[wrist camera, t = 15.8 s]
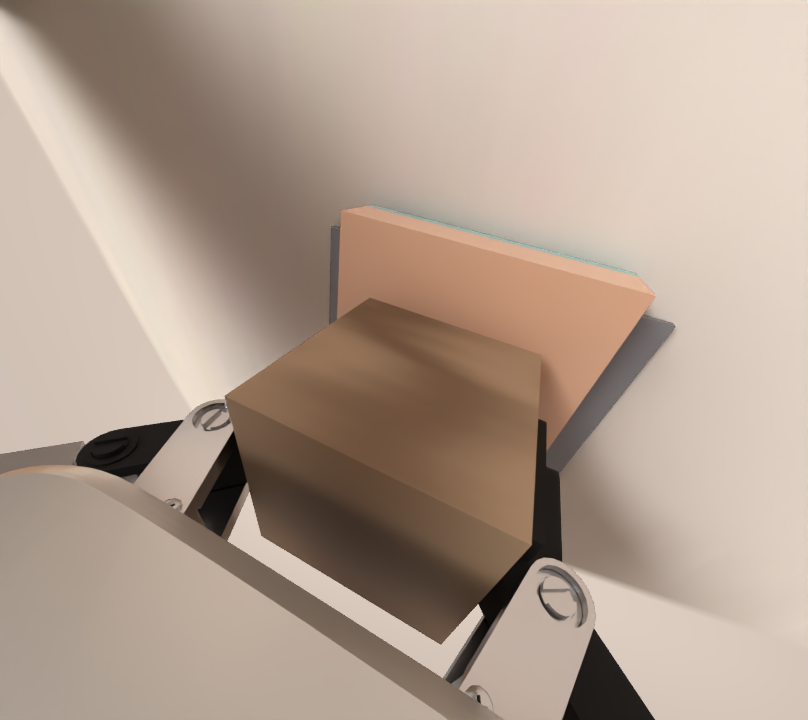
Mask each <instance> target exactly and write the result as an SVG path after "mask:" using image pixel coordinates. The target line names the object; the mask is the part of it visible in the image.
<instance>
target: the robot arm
mask: <svg viewBox="0 0 808 720" xmlns="http://www.w3.org/2000/svg"><path fill="white" fill-rule="evenodd" d="M546 446H547V423H546V422H545V421H543V420H540V419H538V432H537V451H536V470H535V490H534V509H533V528H532V545H531V546H530V548H529V549H528V550H527V551H526V552H525V553H524V554H523V555H522V556H521V557H520V558H519V560H518V561H517V562H516V563H515V564H514V565H513V566H512V567H511V568H510V569H509V571H508V572H507V573H506V574H505V575H504V576H503V577H502V578H501V579H500V580H499V581H498V583H497V584H496V585H495V586H494V587H493V588H492V589H491V590H490V591H489V592H488V594H487V595H486V596H485V597H484V598H483V599H482V600H481V601H480V602H479V603H478V604H479V606H480V608H481V610H482V613H483V616H482V618H481V619H480V621H479V622H478V624H477V625H476V627H475V629H474V630H473V632H472V633H471V635H470V636H469V638H468V640H467V641H466V643H465V644H464V646H463V648H462V649H461V651H460V652H459V654H458V655H457V657H456V659H455V660H454V662H453V663H452V665H451V666H450V668H449V670H448V671H447V673H446V674H445V676H444V677H443V678H441V677H440V676H438V675H437V674H435V673H434V672H432V671H431V670H429V669H428V668H426V667H424V666H423V665H421V664H420V663H418V662H417V661H415V660H413V659H412V658H410V657H409V656H407V655H406V654H404V653H402V652H401V651H399V650H398V649H396V648H394V647H393V646H392V645H390V644H388V643H387V642H385V641H383V640H382V639H380V638H379V637H378V636H376V635H374V634H373V633H371V632H369V631H368V630H367V629H365V628H363V627H362V626H360V625H359V624H357V623H356V622H354V621H352V620H351V619H349V618H348V617H346V616H345V615H343V614H342V613H340V612H338V611H337V610H335V609H334V608H332V607H331V606H329V605H327V604H326V603H324V602H323V601H321V600H319V599H318V598H316V597H315V596H313V595H311V594H310V593H308V592H307V591H305V590H304V589H302V588H301V587H299V586H297V585H296V584H294V583H293V582H291V581H289V580H288V579H286V578H285V577H283V576H281V575H280V574H278V573H277V572H275V571H274V570H272V569H270V568H269V567H267V566H266V565H264V564H262V563H261V562H259V561H258V560H256V559H255V558H253V557H252V556H250V555H248V554H247V553H245V552H244V551H242V550H240V549H239V548H237V547H236V546H234V545H232V544H231V543H229V542H228V541H227V540H228V538H229V536H230V534H231V531H232V529H233V527H234V525H235V522H236V520H237V518H238V516H239V513H240V511H241V509H242V507H243V505H244V502H245V500H246V498H247V496H248V493H249V491H250V490H249V487H248V483H247V479H246V475H245V471H244V468H243V464H242V460H241V456H240V452H239V449H238V445H237V441H236V437H235V433H234V430H233V426H232V422H231V418H230V414H229V411H228V407H227V403H226V399H218V400H213V401H209V402H206V403H203V404H201V405H200V406H198V407H196V408H195V409H194V410H193V411H192V412H190V413H189V415H188V416H187V417H186V418H185V420H179V421H172V422H165V423H158V424H152V425H144V426H138V427H131V428H124V429H118V430H114V431H110V432H108V433H105V434H103V435H100V436H98V437H96V438H95V439H93V440H91V441H90V442H89V443H87V444H85V443H84V442H83V441H81V442H74V443H68V444H62V445H55V446H49V447H43V448H37V449H30V450H24V451H17V452H11V453H5V454H0V720H655V719H654V718H653V716H652V715H651V713H650V712H649V710H648V709H647V707H646V706H645V704H644V703H643V701H642V700H641V698H640V697H639V695H638V694H637V692H636V691H635V689H634V688H633V686H632V685H631V683H630V682H629V680H628V679H627V677H626V676H625V674H624V673H623V671H622V670H621V668H620V667H619V665H618V664H617V662H616V661H615V659H614V658H613V656H612V655H611V653H610V652H609V650H608V649H607V647H606V646H605V644H604V643H603V641H602V640H601V639H600V637H599V635H598V634H597V632H596V631H595V629H594V626H595V619H596V613H595V608H594V602H593V600H592V597H591V595H590V592H589V590H588V589H587V587H586V585H585V584H584V582H583V581H582V579H581V578H580V577H579V576H578V575H577V574H576V573H575V572H574V571H573V570H572V569H571V568H570V567H568V566H567V565H566V564H564V563H563V562H562V540H561V508H560V478H559V473H558V471H556V470H554V469H551V468H549V467H547V466H546Z"/></svg>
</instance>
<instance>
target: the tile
mask: <svg viewBox="0 0 808 720" xmlns="http://www.w3.org/2000/svg"><path fill="white" fill-rule="evenodd" d="M655 297H656V295H655V294H654V293H653V292H652V291H651V290H650V288H649V287H648V286H647V285H646V284H645V283H644V282H643V280H642V279H641V278H640V277H639V276H638V275H637V274H636V273H633V272H630V271H626V270H622V269H618V268H614V267H610V266H607V265H603V264H599V263H595V262H591V261H587V260H583V259H580V258H576V257H572V256H568V255H564V254H560V253H556V252H553V251H549V250H545V249H541V248H537V247H533V246H529V245H526V244H522V243H518V242H514V241H510V240H506V239H503V238H499V237H495V236H491V235H487V234H483V233H479V232H476V231H472V230H468V229H464V228H460V227H456V226H452V225H449V224H445V223H441V222H437V221H433V220H429V219H426V218H422V217H418V216H414V215H410V214H406V213H402V212H399V211H395V210H391V209H387V208H383V207H379V206H375V205H369V206H363V207H357V208H351V209H345V210H341V223H340V251H339V278H338V306H337V319H339V318H340V317H342V316H343V315H345V314H346V313H348V312H349V311H351V310H352V309H353V308H355V307H356V306H358V305H359V304H361V303H362V302H364V301H365V300H367V299H368V298H373V299H376V300H379V301H382V302H385V303H388V304H391V305H393V306H396V307H399V308H402V309H405V310H408V311H411V312H414V313H417V314H420V315H423V316H426V317H429V318H432V319H435V320H438V321H441V322H444V323H447V324H450V325H453V326H456V327H459V328H462V329H465V330H468V331H471V332H474V333H477V334H480V335H483V336H486V337H489V338H492V339H495V340H498V341H501V342H504V343H507V344H510V345H513V346H516V347H519V348H522V349H525V350H528V351H531V352H534V353H537V354H540V355H541V374H540V393H539V412H538V419H540V420H543V421H545V422H546V423H547V446H546V452H547V450H548V449H549V447H550V446H551V444H552V443H553V442H554V440H555V439H556V437H557V436H558V434H559V433H560V432H561V430H562V429H563V427H564V426H565V425H566V423H567V422H568V420H569V419H570V417H571V416H572V415H573V413H574V412H575V410H576V409H577V408H578V406H579V405H580V403H581V402H582V400H583V399H584V398H585V396H586V395H587V393H588V392H589V390H590V389H591V388H592V386H593V385H594V383H595V382H596V381H597V379H598V378H599V376H600V375H601V373H602V372H603V371H604V369H605V368H606V366H607V365H608V364H609V362H610V361H611V359H612V358H613V356H614V355H615V354H616V352H617V351H618V349H619V348H620V346H621V345H622V344H623V342H624V341H625V339H626V338H627V337H628V335H629V334H630V332H631V331H632V329H633V328H634V327H635V325H636V324H637V322H638V321H639V320H640V318H641V317H642V315H643V314H644V312H645V311H646V310H647V308H648V307H649V305H650V304H651V302H652V301H653V300H654V298H655Z"/></svg>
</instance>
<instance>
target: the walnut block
mask: <svg viewBox="0 0 808 720" xmlns="http://www.w3.org/2000/svg"><path fill="white" fill-rule="evenodd" d="M540 374H541V355H540V354H537V353H534V352H531V351H528V350H525V349H522V348H519V347H516V346H513V345H510V344H507V343H504V342H501V341H498V340H495V339H492V338H489V337H486V336H483V335H480V334H477V333H474V332H471V331H468V330H465V329H462V328H459V327H456V326H453V325H450V324H447V323H444V322H441V321H438V320H435V319H432V318H429V317H426V316H423V315H420V314H417V313H414V312H411V311H408V310H405V309H402V308H399V307H396V306H393V305H391V304H388V303H385V302H382V301H379V300H376V299H373V298H368V299H367V300H365V301H364V302H362V303H361V304H359V305H358V306H356V307H355V308H353V309H352V310H351V311H349V312H348V313H346V314H345V315H343V316H342V317H340V318H339V319H337V320H336V321H334V322H333V323H331V324H330V325H328V326H327V327H326V328H324V329H323V330H321V331H320V332H318V333H317V334H315V335H314V336H312V337H311V338H309V339H308V340H306V341H305V342H303V343H302V344H300V345H299V346H298V347H296V348H295V349H293V350H292V351H290V352H289V353H287V354H286V355H284V356H283V357H281V358H280V359H278V360H277V361H275V362H274V363H272V364H271V365H270V366H268V367H267V368H265V369H264V370H262V371H261V372H259V373H258V374H256V375H255V376H253V377H252V378H250V379H249V380H247V381H246V382H245V383H243V384H242V385H240V386H239V387H237V388H236V389H234V390H233V391H231V392H230V393H228V394H227V395H225V399H226V403H227V407H228V411H229V414H230V418H231V422H232V426H233V430H234V433H235V437H236V441H237V445H238V449H239V452H240V456H241V460H242V464H243V468H244V471H245V475H246V479H247V483H248V487H249V490H250V494H251V498H252V502H253V506H254V509H255V513H256V517H257V521H258V525H259V528H260V532H261V536H263V537H264V538H266V539H267V540H269V541H271V542H273V543H274V544H276V545H277V546H279V547H281V548H282V549H284V550H286V551H287V552H289V553H291V554H292V555H294V556H296V557H297V558H299V559H301V560H302V561H304V562H305V563H307V564H309V565H310V566H312V567H314V568H315V569H317V570H319V571H321V572H322V573H324V574H325V575H327V576H329V577H330V578H332V579H334V580H335V581H337V582H339V583H340V584H342V585H343V586H345V587H347V588H348V589H350V590H352V591H353V592H355V593H357V594H358V595H360V596H362V597H363V598H365V599H366V600H368V601H370V602H371V603H373V604H375V605H376V606H378V607H380V608H382V609H383V610H385V611H386V612H388V613H390V614H391V615H393V616H395V617H396V618H398V619H400V620H401V621H403V622H404V623H406V624H408V625H409V626H411V627H413V628H414V629H416V630H418V631H419V632H421V633H422V634H424V635H426V636H427V637H429V638H431V639H432V640H434V641H436V642H437V643H439V644H442V643H443V642H444V641H445V639H446V638H447V637H448V636H449V635H450V634H451V632H453V631H454V630H455V629H456V627H457V626H458V625H459V624H460V623H461V622H462V621H463V620H464V619H465V618H466V616H467V615H468V614H469V613H470V612H471V611H472V610H473V609H474V608H475V607H476V606H477V604H478V603H479V602H480V601H481V600H482V599H483V598H484V597H485V596H486V595H487V594H488V592H489V591H490V590H491V589H492V588H493V587H494V586H495V585H496V584H497V583H498V581H499V580H500V579H501V578H502V577H503V576H504V575H505V574H506V573H507V572H508V571H509V569H510V568H511V567H512V566H513V565H514V564H515V563H516V562H517V561H518V560H519V558H520V557H521V556H522V555H523V554H524V553H525V552H526V551H527V550H528V549H529V548H530V546H531V545H532V528H533V509H534V490H535V470H536V451H537V432H538V412H539V393H540Z"/></svg>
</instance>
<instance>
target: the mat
mask: <svg viewBox="0 0 808 720" xmlns="http://www.w3.org/2000/svg"><path fill="white" fill-rule="evenodd" d="M339 251H340V227H336V226H333V227H331V263H330V315H329V325H330V324H331V323H333V322H334V321H336V320H337V306H338V278H339ZM674 328H675V325H674V324H673V323H670V322H666V321H663V320H659V319H656V318H652V317H649V316H646V315H642V317H641V318H640V320H639V321H638V322H637V324H636V325H635V327H634V328H633V329H632V331H631V332H630V334H629V335H628V337H627V338H626V339H625V341H624V342H623V344H622V345H621V346H620V348H619V349H618V351H617V352H616V354H615V355H614V356H613V358H612V359H611V361H610V362H609V364H608V365H607V366H606V368H605V369H604V371H603V372H602V373H601V375H600V376H599V378H598V379H597V381H596V382H595V383H594V385H593V386H592V388H591V389H590V390H589V392H588V393H587V395H586V396H585V398H584V399H583V400H582V402H581V403H580V405H579V406H578V408H577V409H576V410H575V412H574V413H573V415H572V416H571V417H570V419H569V420H568V422H567V423H566V425H565V426H564V427H563V429H562V430H561V432H560V433H559V434H558V436H557V437H556V439H555V440H554V442H553V443H552V444H551V446H550V447H549V449H548V450H547V452H546V466H547V467H549V468H551V469H554V470H556V471H558V473H559V472H560V471H561V470H562V469H563V467H564V466H565V465H566V464H567V462H568V461H569V460H570V459H571V457H572V456H573V455H574V454H575V452H576V451H577V450H578V449H579V447H580V446H581V445H582V444H583V442H584V441H585V440H586V439H587V437H588V436H589V435H590V434H591V432H592V431H593V430H594V429H595V427H596V426H597V425H598V423H599V422H600V421H601V420H602V418H603V417H604V416H605V415H606V413H607V412H608V411H609V410H610V408H611V407H612V406H613V405H614V403H615V402H616V401H617V400H618V398H619V397H620V396H621V395H622V393H623V392H624V391H625V390H626V388H627V387H628V386H629V385H630V383H631V382H632V381H633V380H634V378H635V377H636V376H637V375H638V373H639V372H640V371H641V370H642V368H643V367H644V366H645V365H646V363H647V362H648V361H649V359H650V358H651V357H652V356H653V354H654V353H655V352H656V351H657V349H658V348H659V347H660V346H661V344H662V343H663V342H664V341H665V339H666V338H667V337H668V336H669V334H670V333H671V332H672V331H673V329H674Z"/></svg>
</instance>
